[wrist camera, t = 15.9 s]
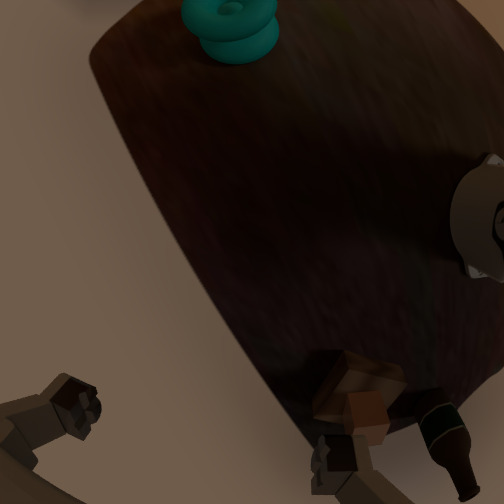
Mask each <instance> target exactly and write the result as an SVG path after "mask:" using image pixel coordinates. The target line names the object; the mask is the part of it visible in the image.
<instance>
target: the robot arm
mask: <svg viewBox="0 0 504 504" xmlns="http://www.w3.org/2000/svg"><path fill="white" fill-rule="evenodd" d="M450 229H451V235H452V239H453V242H454V244H455V247H456V249H457V250H458V252H459V253H460V255H461V256H462V258H463V260H464V265H465V270H466V274H467V275H468V276H469V277H471V278H480V277H488V276H489V277H491V278H493V279H494V280H496V281H498V282H501V283H503V282H504V161H503V160H502V159H501V158H499V157H498V156H497V155H495V154H489V155H488V156H487V157H486V158H485V160H484V161H483V163H482V164H481V165H480V166H479V167H477V168H475V169H473V170H471V171H470V172H468V173H467V174H466V175H465V176H464V177H463V178H462V180H461V181H460V183H459V184H458V186H457V188H456V191H455V193H454V196H453V199H452V203H451V209H450ZM96 395H97V390H96V387H94V386H92V385H90V384H87V383H85V382H83V381H80V380H79V379H76V378H74V377H72V376H70V375H68V374H66V373H61V374H59V375H58V376H57V377H56V378H55V379H54V380H53V382H52V383H51V384H50V385H49V386H48V387H47V388H46V389H45V390H44V391H43V392H42V393H41V394H40V395H38V394H35V395H31V396H28V397H25V398H21V399H17V400H14V401H10V402H6V403H2V404H0V504H86V503H84V502H82V501H80V500H79V499H77V498H75V497H73V496H71V495H70V494H67V493H66V492H64V491H63V490H61V489H59V488H57V487H56V486H54V485H53V484H51V483H49V482H48V481H46V480H45V479H43V478H42V477H40V476H39V475H37V474H36V473H34V472H33V471H32V470H33V469H34V467H35V466H36V465H37V463H38V459H37V457H36V456H35V454H34V453H33V452H32V450H34V449H36V448H38V447H40V446H42V445H44V444H47V443H48V442H51V441H53V440H54V439H57V438H59V437H61V436H63V435H65V434H66V433H68V434H70V435H72V436H74V437H76V438H78V439H80V440H82V441H84V440H85V438H86V437H87V435H88V434H89V432H90V431H91V424H93V423H96V422H97V420H98V419H99V417H100V414H101V410H102V409H101V402H100V401H99V399H98V398H97V397H96ZM311 471H312V472H313V473H314V474H315V475H314V476H313V478H312V480H311V489H312V491H311V492H312V495H335V497H336V498H337V499H338V501H339V502H340V504H414V503H413V502H412V501H411V500H409V499H408V498H407V497H406V496H405V495H404V494H403V493H401V491H399V490H398V489H397V488H396V487H395V486H394V485H393V484H392V483H390V482H389V481H388V480H387V479H386V478H385V477H384V476H383V475H382V474H381V473H379V472H378V471H377V470H373V467H372V462H371V457H370V453H369V448H368V444H367V439H366V436H365V435H322V436H321V437H320V439H319V446H317V447H315V449H314V451H313V454H312V458H311Z"/></svg>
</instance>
